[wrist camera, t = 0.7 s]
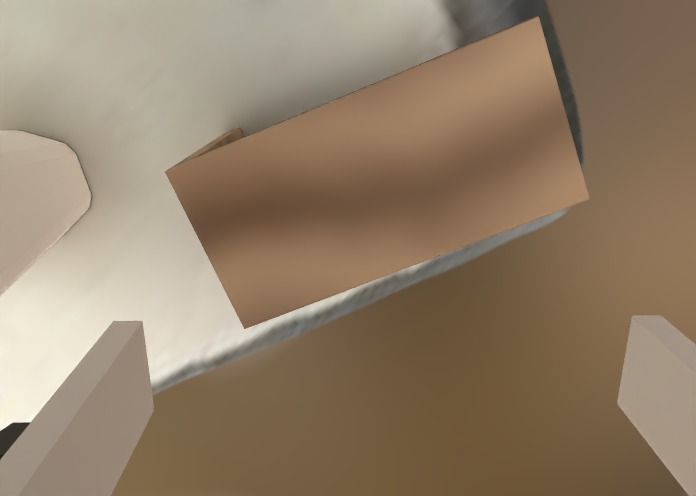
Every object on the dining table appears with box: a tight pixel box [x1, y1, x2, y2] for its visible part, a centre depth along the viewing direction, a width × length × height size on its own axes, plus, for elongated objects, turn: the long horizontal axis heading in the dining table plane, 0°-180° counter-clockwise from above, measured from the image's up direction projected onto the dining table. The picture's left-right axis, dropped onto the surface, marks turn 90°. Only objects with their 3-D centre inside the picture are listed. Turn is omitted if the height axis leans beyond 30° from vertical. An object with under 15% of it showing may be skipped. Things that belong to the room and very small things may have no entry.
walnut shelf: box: [165, 17, 589, 329], centre depth 32 cm, size 8×17×13 cm, turn 112°
